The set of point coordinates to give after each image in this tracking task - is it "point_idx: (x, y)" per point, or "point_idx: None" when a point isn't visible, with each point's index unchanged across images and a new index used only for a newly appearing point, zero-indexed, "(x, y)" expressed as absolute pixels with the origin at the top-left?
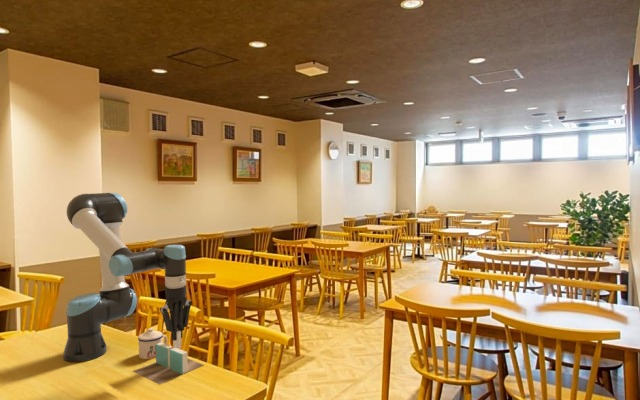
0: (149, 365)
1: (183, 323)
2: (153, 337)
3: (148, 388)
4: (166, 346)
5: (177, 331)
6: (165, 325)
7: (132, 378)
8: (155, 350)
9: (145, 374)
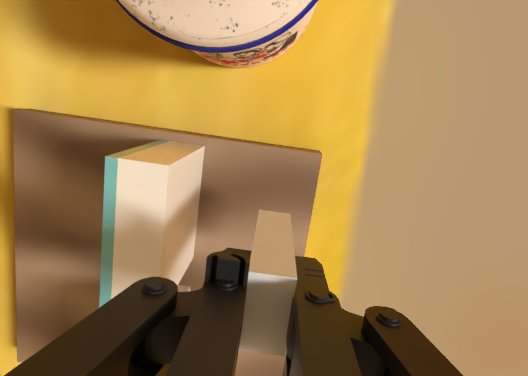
0: (114, 135)
1: (384, 370)
2: (166, 20)
3: (2, 300)
4: (127, 283)
5: (252, 336)
6: (83, 323)
7: (8, 141)
8: (207, 55)
9: (32, 215)
